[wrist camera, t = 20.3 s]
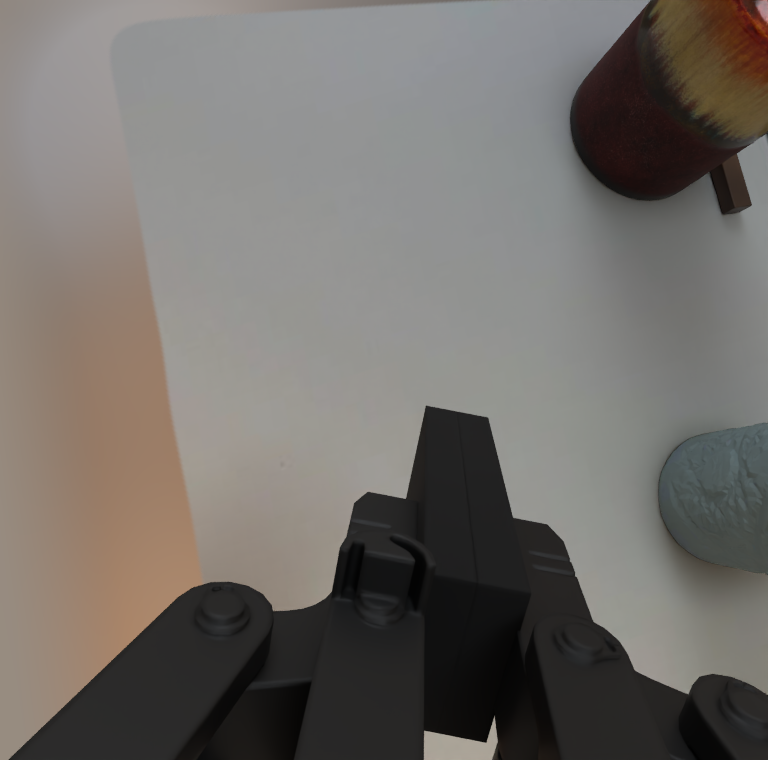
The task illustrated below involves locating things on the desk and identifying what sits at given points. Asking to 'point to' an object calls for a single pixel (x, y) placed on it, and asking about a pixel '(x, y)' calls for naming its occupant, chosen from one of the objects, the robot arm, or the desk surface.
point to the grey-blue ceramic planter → (720, 497)
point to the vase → (675, 95)
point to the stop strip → (731, 186)
